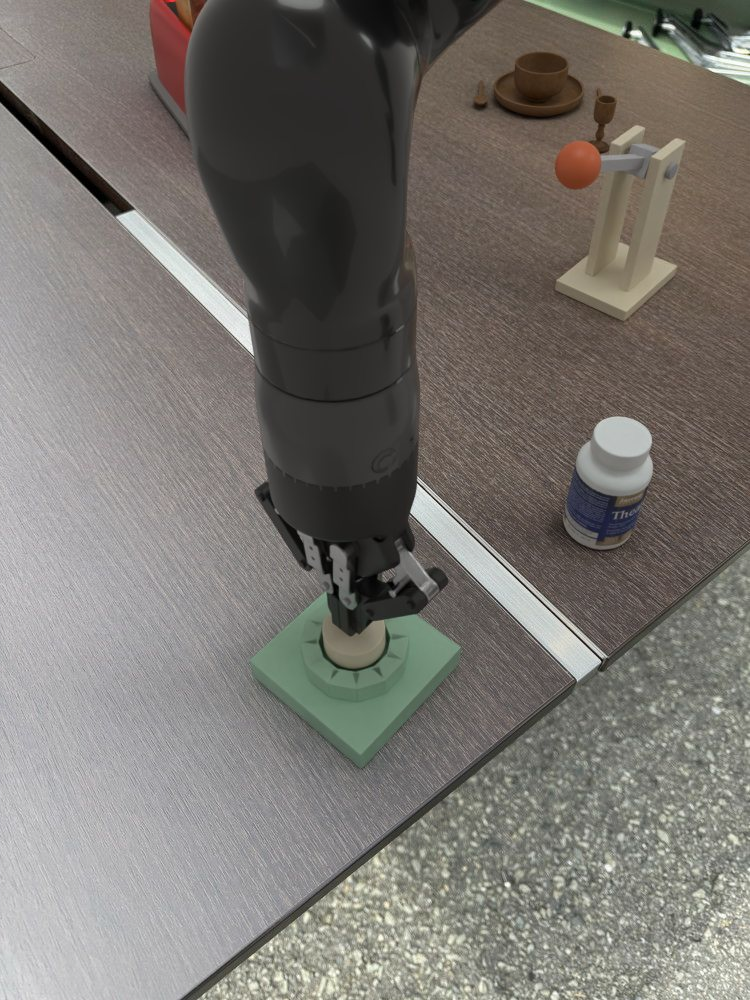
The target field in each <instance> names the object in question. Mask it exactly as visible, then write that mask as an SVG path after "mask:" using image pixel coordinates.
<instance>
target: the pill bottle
mask: <svg viewBox="0 0 750 1000" xmlns="http://www.w3.org/2000/svg"><path fill="white" fill-rule="evenodd" d="M652 444H653V437H652V434H651V432H650V431H649V429H648V428H647V427H646V426H645V425H644V424H642V423H641V422H639V421H637V419H633V418H630V417H626V416H620V415H618V416H617V415H616V416H611V417H606V418H604V419H601V421H599V422H598V423H596V426H595V427H594V429H593V433H592V435H591V438H590V439H589V440H588V441H586V443H585V444H584V445H582V447H581V448H580V449H579V450H578V453H577V457H576V460H575V463H574V467H573V472H572V476H571V480H570V484H569V489H568V492H567V497H566V500H565V504H564V509H563V515H562V522H563V526H564V528H565V531H566V532H567V533H568V535H569V536H571V539H574V540H575V542H577V543H578V544H580V545H583V546H584V547H587V548H590V549H594V550H611V549H615V548H618V547H621V546H622V545H623V544H625V543H626V542H627V541H628V540H629V538H630V537H631V535H632V533H633V530H634V529H635V526H636V523H637V520H638V517H639V514H640V512H641V509H642V506H643V503H644V500H645V498H646V494H647V492H648V489H649V487H650V484H651V481H652V478H653V473H654V463H653V460H652V458H651V456H650V451H651V448H652Z"/></svg>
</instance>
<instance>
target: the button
mask: <svg viewBox="0 0 750 1000" xmlns="http://www.w3.org/2000/svg"><path fill="white" fill-rule="evenodd" d="M322 632H323V641H324V648H325V651H326V653H327V655H328V657H329V658H330V659H331V660H332V661H333V662H334V663H336V664H337V665H339V666H342V667H344V668H349V669H358V668H363V667H366V666H369V665H371V664H372V663H374V662H375V661H376V660H377V659H378V658H379V657H380V656H381V654H382V653H383V651H384V648H385V623H384V620H379V621H373V622H372V623H371V624H370V625H369V626H368V627H367V628H366V629H365V630H364V631H363V632H362V633H361V634H360V635H359V634H358V633H355V634H354V635H353V636H351V637H350V636H348V635H347V634H346V633H344V632H343V631H342V630H341V629H339V628H338V627H337V626H335V625H334V624H333V623H332V616H331V612H330V613H329V614H328V615H327V616H326V618H325V620H324V623H323V627H322Z"/></svg>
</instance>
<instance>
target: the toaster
mask: <svg viewBox="0 0 750 1000" xmlns="http://www.w3.org/2000/svg"><path fill="white" fill-rule="evenodd" d="M206 2H207V0H150V1H149V9H148V10H149V11H148V12H149V13H148V17H149V26H150V35H151V42H152V47H153V54H154V55H153V56H154V61H155V67H156V70H153V71H150V72H149V73H148V75H147V78H148V81H149V83H150V85H151V88H152V89H153V91H154V92H155V93H156V96H158V98H159V99H160V100H161V102H162V103H163V105H164V106H165V107H166V109H167V111H168V112H169V113H170V114H171V116H172V117H173V118H174V120H175V121H176V122H177V124H178V125H179V126H180V128H181V129H182V130H183V132H184V133H185V135H186V136H187V138H189V134H188V128H187V120H186V110H185V94H184V71H185V60H186V52H187V48H188V43H189V39H190V36H191V32H192V30H193V27H194V24H195V21H196V19H197V17H198V15H199V13H200V12H201V10H202V8H203V7H204V5H205V3H206Z"/></svg>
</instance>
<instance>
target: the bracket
mask: <svg viewBox="0 0 750 1000" xmlns="http://www.w3.org/2000/svg"><path fill="white" fill-rule="evenodd" d="M645 131H646V127H644V126H641V125H638V124H635V125H634V126H633V127H631V128H629V129H628V130H627V131H625V132H624V133H622V134H620V136H618V137H617V138H615V139H614V140H612V141H611V142H610V145H609V150H608V155H623V154H629V151H630V148H631V145H632V144H643V141H644V136H645ZM686 142H687V141H686V140H683V139H681V138H678V137H675V138H674V139H673V140H671V141H670V142H668V143H667V144H666V145H664V146H663V147H662V148H660V149H661V150H659V151H658V152H657V153H655V154H654V155H653V156H651V159H650V163H649V167H648V172H647V176H646V179H644V185H643V188H642V192H641V197H640V201H639V205H638V210H637V214H636V218H635V221H634V226H633V230H632V234H631V238H630V241H629V245H628V244H625V243H623V242H620V240H621V236H622V231H623V228H624V223H625V219H626V215H627V210H628V206H629V201H630V197H631V192H632V189H633V183H634V179H635V176H634V175H631V174H628V173H625V172H623V171H611V172H604V175H603V181H602V185H601V191H600V196H599V199H598V204H597V210H596V215H595V219H594V225H593V230H592V235H591V241H590V245H589V248H588V249H589V250H588V254H587V255H586V256H585V257H583V258H582V259H580V261H578V262H577V263H575V265H573V266H572V267H570V269H569V270H567V271H566V272H565V273H564V274H562V275H561V276H560V277H558V278H557V279H556V280H555V288H554V291H556V292H558V293H561V294H562V295H565V296H567V297H568V298H571V299H574V300H575V301H577V302H579V303H581V304H584V305H585V306H586V305H587V306H588V307H591V308H593V309H595V310H597V311H600V312H602V313H604V314H606V315H608V316H611V317H613V318H615V319H617V320H619V321H621V322H624V323H625V322H626V320H628V319H629V318H630V317H631V316H632V315H633V314H635V312H636V311H637V310H639V309H640V308H641V307H642V306H643V305H644V304H645V303H646V302H647V301H649V300H650V299H651V298H652V297H653V296H654V295H655V294H656V293H657V292H658V291H659V290H661V289H662V288H663V287H664V286H665V285H666V284H667V283H669V282H670V281H671V280H672V279H673V278H674V277H675V276H676V272H677V270H678V265H676V264H674V263H672V262H669V261H666V260H664V259H662V258H659V257H657V256H656V253H657V249H658V246H659V242H660V239H661V235H662V231H663V228H664V224H665V220H666V216H667V212H668V209H669V206H670V202H671V198H672V194H673V190H674V187H675V183H676V180H677V175H678V172H679V168H680V166H681V165H680V164H681V161H682V157H683V154H684V150H685V146H686Z"/></svg>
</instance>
